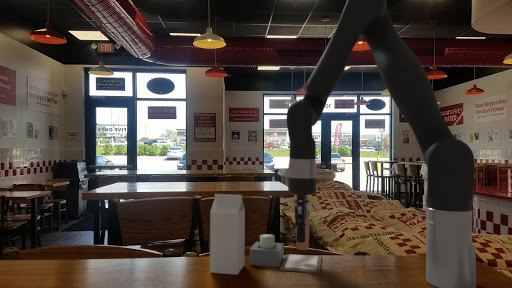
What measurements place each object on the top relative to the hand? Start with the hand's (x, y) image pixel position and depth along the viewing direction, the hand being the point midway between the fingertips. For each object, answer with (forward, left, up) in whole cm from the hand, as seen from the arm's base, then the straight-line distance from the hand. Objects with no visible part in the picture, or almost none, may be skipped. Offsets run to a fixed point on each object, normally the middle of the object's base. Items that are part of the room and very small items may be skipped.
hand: (301, 239), depth 93 cm
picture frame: (0, 0, -6) cm, 6 cm away
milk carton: (+18, +9, -7) cm, 21 cm away
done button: (+9, 0, -5) cm, 10 cm away
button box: (+9, 0, -6) cm, 11 cm away
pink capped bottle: (0, 0, -2) cm, 2 cm away
